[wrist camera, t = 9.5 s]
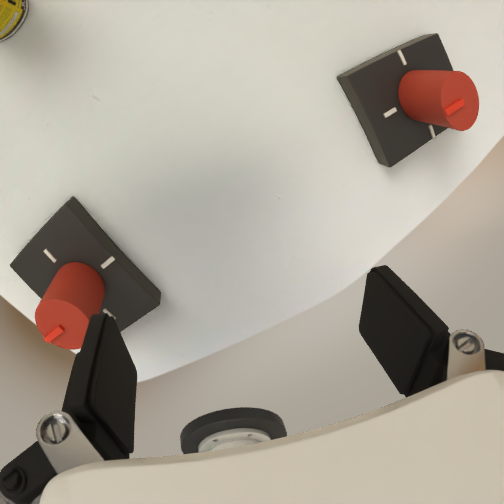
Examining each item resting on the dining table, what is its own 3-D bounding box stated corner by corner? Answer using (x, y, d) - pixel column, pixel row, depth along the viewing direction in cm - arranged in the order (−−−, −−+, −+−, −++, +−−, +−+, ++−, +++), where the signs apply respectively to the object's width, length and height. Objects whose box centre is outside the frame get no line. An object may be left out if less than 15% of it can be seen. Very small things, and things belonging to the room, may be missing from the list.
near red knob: (78, 251, 23) (56, 290, 18) (115, 291, 25) (104, 335, 20) (46, 280, 24) (23, 321, 18) (82, 316, 26) (67, 360, 21)
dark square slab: (424, 34, 22) (439, 33, 20) (455, 111, 26) (469, 114, 24) (335, 76, 23) (348, 75, 21) (378, 163, 27) (391, 168, 25)
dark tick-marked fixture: (161, 292, 29) (160, 305, 27) (100, 335, 30) (96, 349, 28) (73, 195, 23) (65, 203, 21) (17, 255, 24) (8, 266, 22)
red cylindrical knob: (424, 63, 21) (470, 63, 16) (442, 108, 23) (487, 117, 18) (389, 81, 22) (435, 83, 17) (410, 129, 24) (455, 141, 19)
